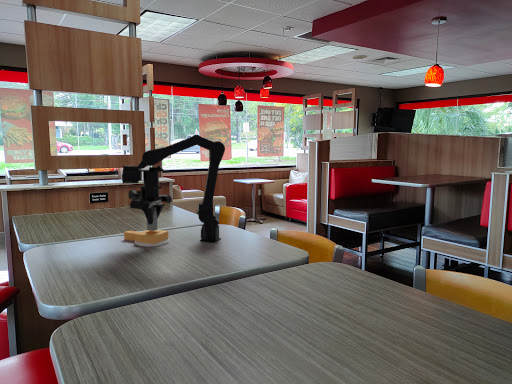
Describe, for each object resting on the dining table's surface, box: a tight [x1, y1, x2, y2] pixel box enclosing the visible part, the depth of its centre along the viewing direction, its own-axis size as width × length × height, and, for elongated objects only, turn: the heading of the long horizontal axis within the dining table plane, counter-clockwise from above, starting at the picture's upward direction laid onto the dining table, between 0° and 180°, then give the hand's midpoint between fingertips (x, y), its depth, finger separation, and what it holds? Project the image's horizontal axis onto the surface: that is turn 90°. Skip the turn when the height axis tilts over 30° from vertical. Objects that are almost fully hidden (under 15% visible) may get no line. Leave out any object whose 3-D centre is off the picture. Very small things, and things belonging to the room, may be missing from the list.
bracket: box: [123, 229, 170, 248], centre depth 146 cm, size 19×13×4 cm
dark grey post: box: [146, 207, 158, 231], centre depth 144 cm, size 3×2×9 cm
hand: (152, 223), depth 144 cm, fingers closed on dark grey post, 2 cm apart
